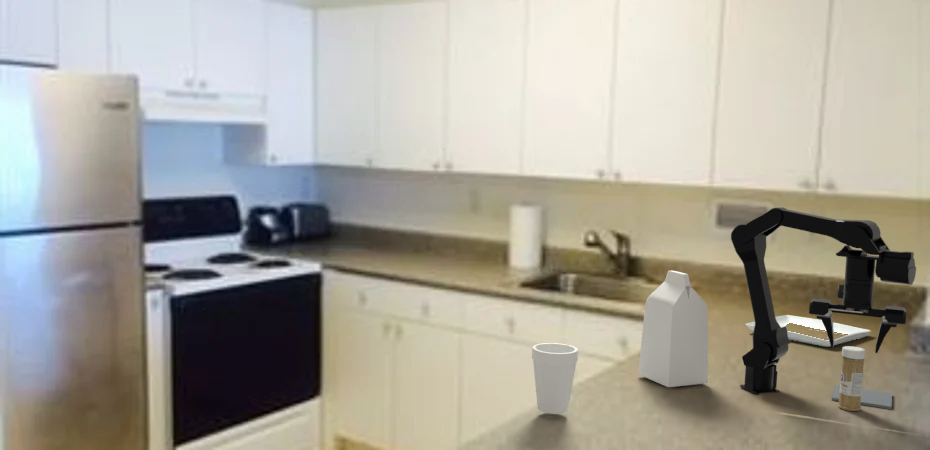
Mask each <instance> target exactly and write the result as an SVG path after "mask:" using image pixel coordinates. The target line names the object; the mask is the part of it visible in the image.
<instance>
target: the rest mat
mask: <svg viewBox="0 0 930 450" xmlns="http://www.w3.org/2000/svg"><path fill="white" fill-rule="evenodd" d="M839 397H840V384H835V385H834V389H833V391H832V396H831V401H835V402H839ZM892 404H893V392H889V391H888V392H886V391H881V390H880V391H879V390H873V389H867V388H862V395H861V403H860V406H868V407H873V408H882V409H889V410H892V409H893V408H892V406H893V405H892Z"/></svg>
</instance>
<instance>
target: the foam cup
mask: <svg viewBox="0 0 930 450" xmlns="http://www.w3.org/2000/svg"><path fill="white" fill-rule="evenodd" d="M531 351H532V352H531V359H532V361H533V362H532V363H533V373H534V382H535V383H534V385H535V394H536V404H537V405H536V406H537V410H538V411H540V412H542V413H545V414H546V413H547V414H552V415H553V414H554V415H555V414H556V415H557V414H564V413H566V412H567V413H568V411H569V405H570V400H571V394H572V388H573V383H574V379H575V373H576V366H577V362H578V360H579V358H578V357H579V355H578V354H579V349H578V347H576V346H574V345H570V344H565V343H559V342H557V343H555V342H545V343H543V342H542V343H537V344H534V345H533V346H532V348H531Z"/></svg>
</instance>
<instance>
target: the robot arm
mask: <svg viewBox="0 0 930 450" xmlns="http://www.w3.org/2000/svg"><path fill="white" fill-rule="evenodd" d="M780 227H785V228H789V229H790V228H791V229H795V230H800V231H804V232H809V233H812V234H813V233H814V234H818V235H821V236H827V237H829V238H832V239H834V240H835V241H837V242H839V243H840V244H841V243H842V244H844V246H843V247H842V248H841V249H840V250H838V251H837V252H836V253H835V256H837V257H843V258H844V257H845V271H844V281H843V282H844V283H843V284H838V287H837V288H838V289H837V301H838V300H839V301H842V304H837V303H832V301H831V299H825V298H816V297H815V298H813V299H812V300H810V303H809V305H808V306H809V307H808V314H809V315H815V316H816V319H818V320H822V322H823V324H824V326H825V329H826V331H827V332H826V334H827V338H829V341H830V345H831V346H830V348H832V349H834V346H835V345H834V339H835V333H834V330H833V322H834V314H833V313H835V314H836V313H837V314H844V315H845V314H846V315H854V316H864V317H873V318H882V319H881V321H880V326H879V330H878V334H877V338H876V343H875V351H874V352H875V354H878V353H879V350H880V348H881V346H882V344H883V341H884V339H885V338H886V336H887V334H888V332H889V331H890V330H891V328H897V326H898V324H899V325H905V324H906V322H907V309H906V308H905V307H904V306H895V305H885V308H876V307H873V305H874V284H875V276H876V277H877V278H879V279H880V280H879V281H881V282H884V283H892V284H901V285H908V286H912V285H913V283H914V282H915V278H916V274H917V273H916V272H917V267H916V262H915V258H914V255H915V254H914V251H895V250H891V249H890V248H889V246H888V245H887V244H886V242H885V241H884V239H883V237H882V236H881V229H880V227H879V226H878V224H877V223H876V222H875V221H872V220H867V219H835V218H832V217H825V216H823V215H822V216H821V215H816V214H811V213H807V212H801V211H797V210H791V209H787V208H786V207H783V206H781V207H780V206H779V207H772V208H770V209H769V210H768V211H767V212H765V213H763V214H762V215H760V216H758V217H756V218H754V219H752V220H750V221H749V222H747V223H742V224H738V225H736V226H735V227H734V228H733V230H732V231H731V234H730V240H731V242H732V245H733V248H734V251H735V253H736V255H737V256H738V258H739V259H740V260H741V262H742V264H743V268H744V274H745V277H746V278H745V279H746V282H747V283H746V284H747V288H748V293H749V299H750V303H751V308H752V314H753V318H754V319H753V320H754V322H755V327H754V331H752V332H753V333H752V349H750V350H749V351H748V352H746V353H745V354H743V355H742V357H741V358H742V363H743V365H744V367H745V372H744V383H743V384H740V385H739V387H740V388H742V389H744V390H746V391H748V392H749V393H753V394H755V395H760V394H769V393H779V392H780V390H779V389H777V386H778V385H777V384H778V371H777V365H778V363H779V362H780V360H781V358H783V357H784V356H786V354H787V353H788V351H789V344H791V343H792V341H791V340H789V339H788V334H787V327H786V326H784V327H780V325H779V324H778V322H777V321H776V318H775V317H776V314H775V309H774V304H773V299H772V294H771V289H770V285H769V279H768V278H769V277H768V274H767V269H766V265H765V256H766V252H767V237H768V236H770V235H771V234H773V233H774V232H776V231H777V229H778V230H779V228H780ZM853 248H854V249H853Z"/></svg>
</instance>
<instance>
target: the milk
mask: <svg viewBox="0 0 930 450" xmlns="http://www.w3.org/2000/svg"><path fill="white" fill-rule="evenodd" d="M689 277H690V276H689V273H685V272H681V271H677V270H668V271H667V273H666V277H665V279H664V281H663V282H662V283H660V285H659V286H658V287H657V288H655V289H654V291H653V292H652V293H651V294H649V296H648V297H647V299H646V301H645V305H644V314H643V323H642V332H641V342H640V351H639V352H640V353H639V361H638V362H639V363H638V370H637V374H638V375H639V376H641V377H643V378H647V379H648V380H650V381H653V382H656V383H658V384H660V385H663V387H667V388H675V387H681V386H683V387H685V386H693V385H703V384H708V381H709V379H708V377H709V372H708V371H709V370H708V369H709V367H708V366H709V356H708V355H709V308H708V305H707V303H706V302H705V300H704V299H703V298H702V297H701V296H700V295H699V293H697V291H696V290H695V289H694V288H693V287H692V286H691V282H690V278H689Z"/></svg>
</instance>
